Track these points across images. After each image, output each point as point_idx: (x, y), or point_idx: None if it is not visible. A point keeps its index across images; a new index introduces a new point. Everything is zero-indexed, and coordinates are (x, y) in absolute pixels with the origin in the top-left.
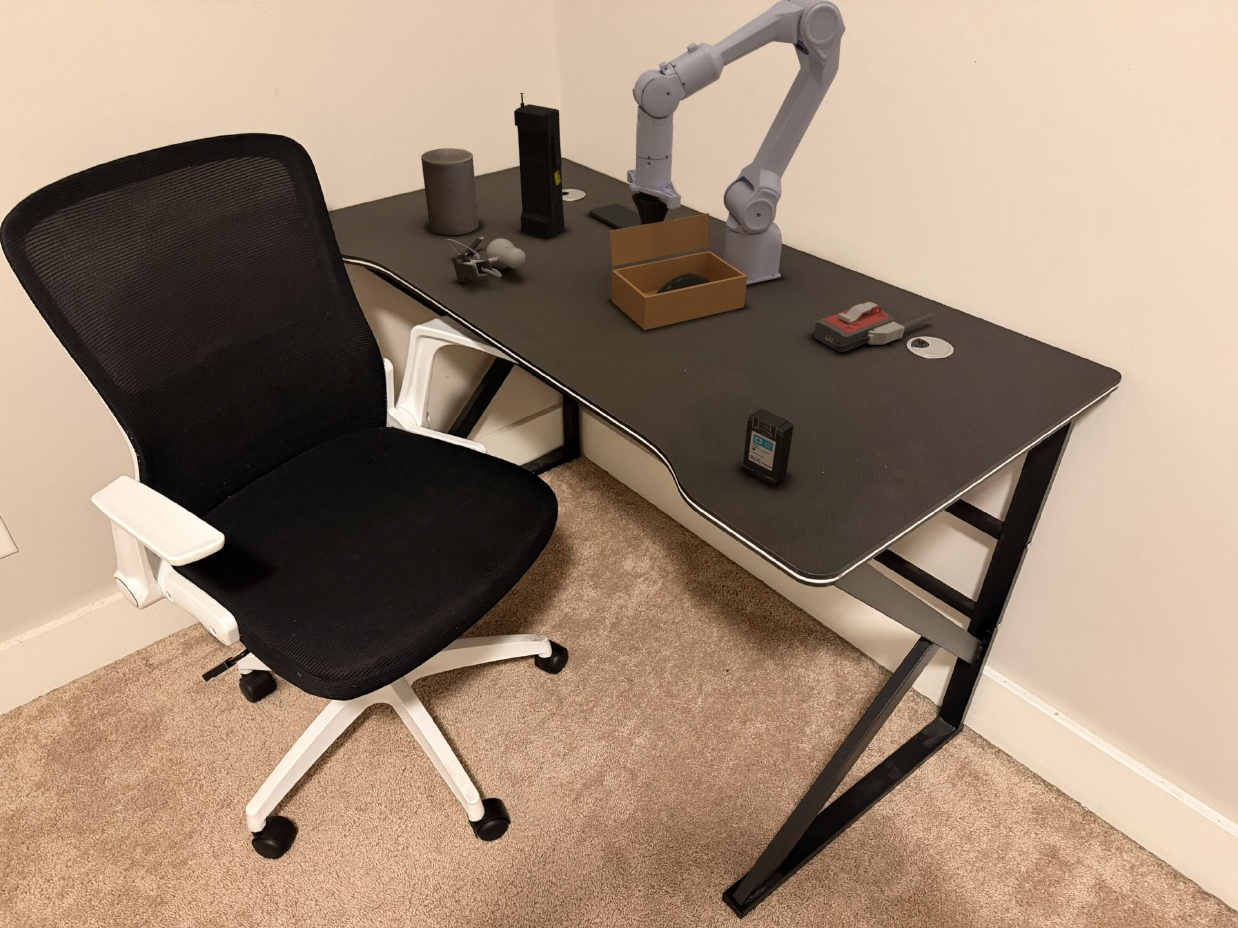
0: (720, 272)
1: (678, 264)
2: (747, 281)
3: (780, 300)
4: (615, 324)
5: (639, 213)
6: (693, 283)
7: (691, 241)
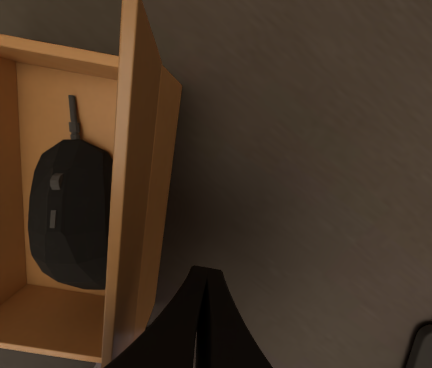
0: (81, 324)
1: None
2: None
3: None
4: (73, 13)
5: (248, 347)
6: (36, 239)
7: None
